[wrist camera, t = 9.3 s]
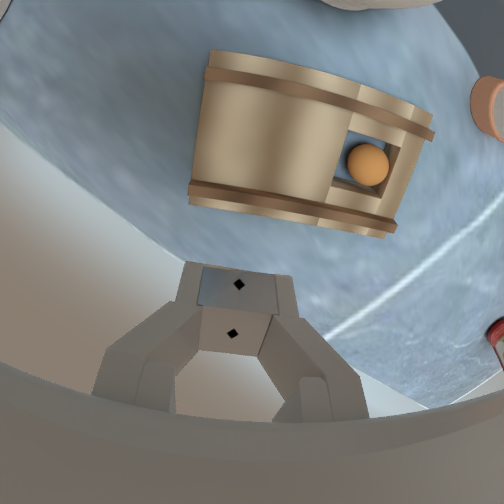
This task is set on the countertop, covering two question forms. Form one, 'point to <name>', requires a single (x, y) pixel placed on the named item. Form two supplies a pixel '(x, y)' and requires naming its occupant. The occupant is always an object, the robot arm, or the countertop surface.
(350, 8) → the jar
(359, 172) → the ball
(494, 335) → the liquor
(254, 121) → the lane board
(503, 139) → the pepper shaker
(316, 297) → the countertop surface
